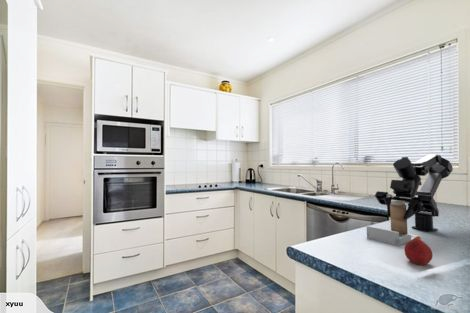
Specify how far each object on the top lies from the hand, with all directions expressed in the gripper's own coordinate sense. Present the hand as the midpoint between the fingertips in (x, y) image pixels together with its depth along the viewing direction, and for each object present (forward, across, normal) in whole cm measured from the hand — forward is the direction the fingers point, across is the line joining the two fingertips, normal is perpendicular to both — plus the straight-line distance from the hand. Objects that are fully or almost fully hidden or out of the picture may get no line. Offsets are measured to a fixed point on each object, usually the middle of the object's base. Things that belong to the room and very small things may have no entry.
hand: (396, 217), depth 84 cm
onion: (+21, +14, -10) cm, 27 cm away
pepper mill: (+3, 0, +5) cm, 6 cm away
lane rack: (+7, 0, +3) cm, 8 cm away
